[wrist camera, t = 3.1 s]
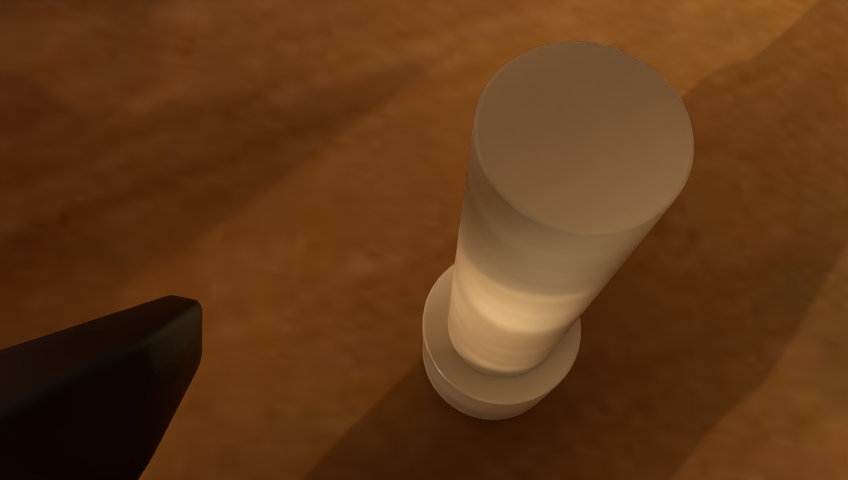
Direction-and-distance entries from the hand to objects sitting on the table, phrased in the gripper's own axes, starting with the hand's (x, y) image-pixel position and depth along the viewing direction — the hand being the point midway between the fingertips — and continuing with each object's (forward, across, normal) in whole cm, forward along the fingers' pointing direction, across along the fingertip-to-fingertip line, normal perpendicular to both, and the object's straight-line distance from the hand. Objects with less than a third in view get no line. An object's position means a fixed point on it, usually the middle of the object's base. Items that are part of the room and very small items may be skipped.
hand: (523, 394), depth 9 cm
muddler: (+9, 0, +5) cm, 10 cm away
